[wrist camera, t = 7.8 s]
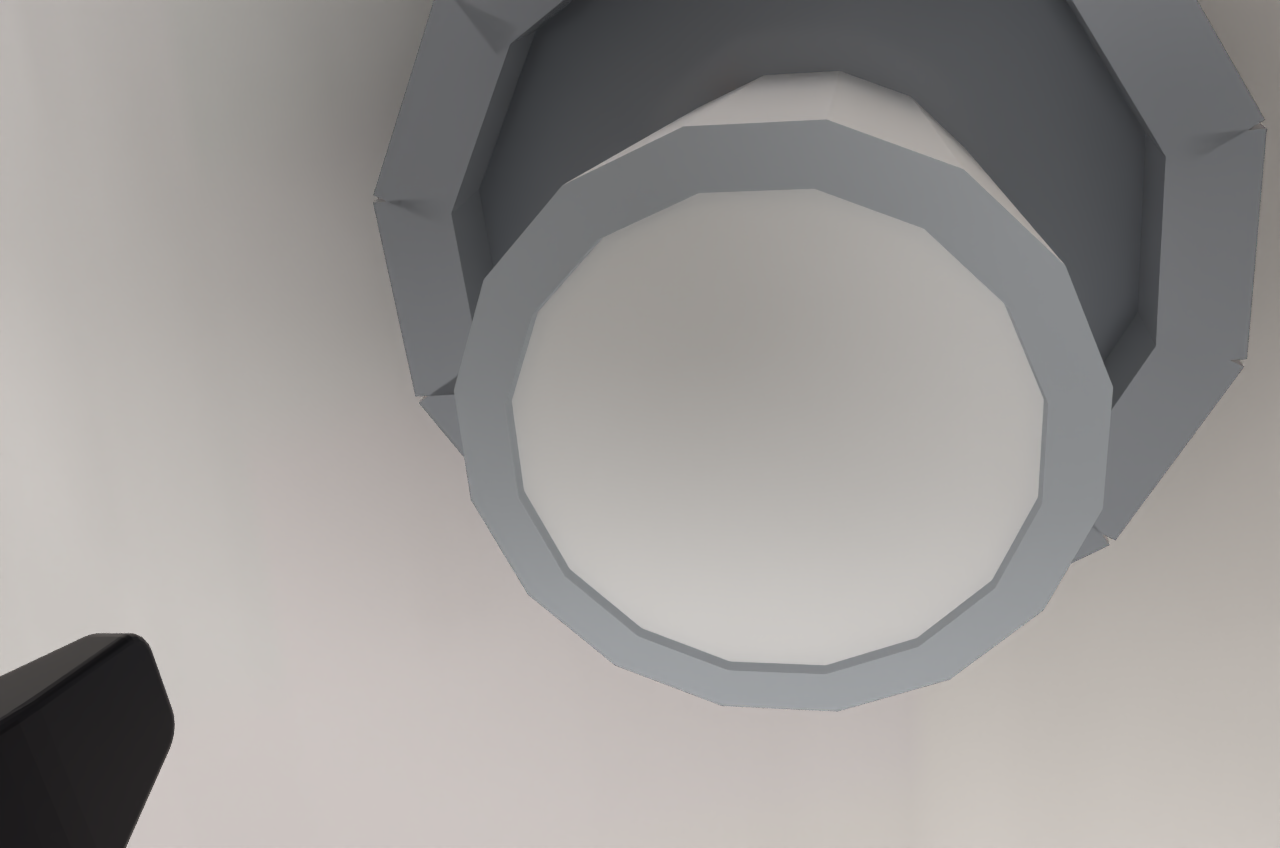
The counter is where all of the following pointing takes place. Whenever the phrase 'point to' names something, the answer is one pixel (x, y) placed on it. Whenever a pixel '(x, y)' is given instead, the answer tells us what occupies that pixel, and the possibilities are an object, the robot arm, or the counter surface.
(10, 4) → the counter surface
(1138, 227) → the tray
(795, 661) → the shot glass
